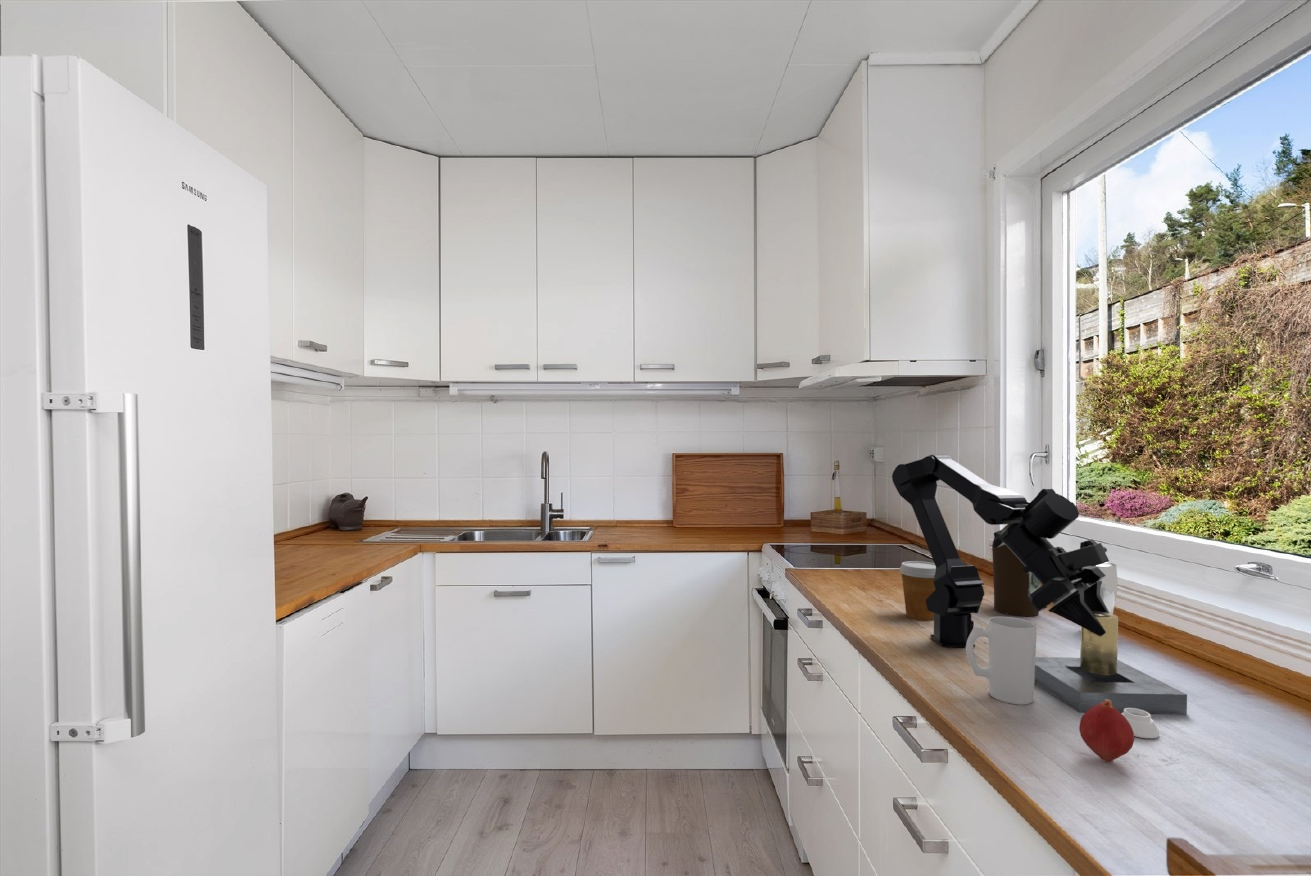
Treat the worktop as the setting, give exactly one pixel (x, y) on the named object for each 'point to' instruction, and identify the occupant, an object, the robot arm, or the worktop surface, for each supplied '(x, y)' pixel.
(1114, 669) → the brass bushing
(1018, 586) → the olive oil
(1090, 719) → the onion
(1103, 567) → the beer glass
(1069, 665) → the plate
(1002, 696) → the mug
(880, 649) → the worktop surface
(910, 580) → the disposable coffee cup
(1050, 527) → the robot arm
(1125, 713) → the white jar
